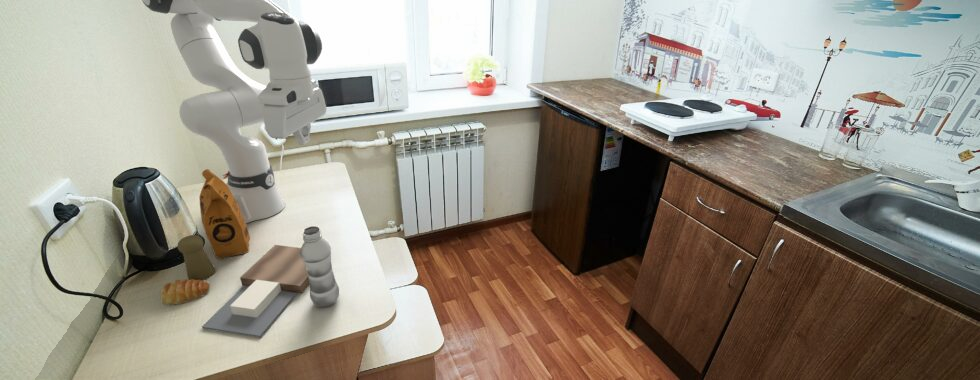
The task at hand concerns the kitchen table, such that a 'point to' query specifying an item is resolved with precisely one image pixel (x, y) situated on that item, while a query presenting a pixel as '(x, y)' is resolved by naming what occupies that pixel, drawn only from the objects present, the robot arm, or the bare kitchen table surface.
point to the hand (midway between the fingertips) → (304, 142)
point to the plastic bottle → (319, 267)
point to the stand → (280, 269)
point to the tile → (255, 298)
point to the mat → (246, 324)
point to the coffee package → (222, 218)
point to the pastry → (183, 291)
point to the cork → (196, 258)
